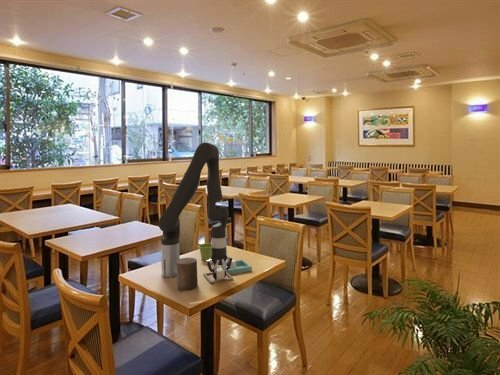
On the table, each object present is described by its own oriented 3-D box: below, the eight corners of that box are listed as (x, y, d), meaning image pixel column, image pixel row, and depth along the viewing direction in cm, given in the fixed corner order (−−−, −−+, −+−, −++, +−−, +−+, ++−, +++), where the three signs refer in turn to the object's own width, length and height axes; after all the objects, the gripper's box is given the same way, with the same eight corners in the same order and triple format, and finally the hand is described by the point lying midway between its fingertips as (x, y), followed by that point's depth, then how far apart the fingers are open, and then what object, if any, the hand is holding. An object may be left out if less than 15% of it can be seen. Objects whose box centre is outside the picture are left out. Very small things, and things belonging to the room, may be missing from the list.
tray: (210, 284, 174) (210, 282, 173) (203, 276, 185) (203, 273, 185) (233, 281, 178) (233, 278, 178) (225, 272, 190) (225, 269, 190)
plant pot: (206, 256, 219) (205, 242, 218) (217, 258, 213) (217, 244, 212) (195, 260, 211) (195, 246, 210) (207, 263, 206) (206, 248, 205)
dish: (229, 275, 186) (228, 270, 185) (221, 267, 198) (221, 262, 197) (251, 271, 191) (251, 266, 190) (242, 264, 203) (242, 259, 202)
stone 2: (229, 271, 190) (229, 262, 190) (226, 268, 194) (226, 260, 193) (236, 270, 192) (235, 261, 191) (233, 267, 196) (233, 259, 195)
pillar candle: (199, 290, 167) (198, 259, 166) (178, 292, 165) (177, 261, 163) (196, 283, 177) (195, 253, 175) (176, 285, 174) (175, 255, 172)
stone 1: (217, 281, 177) (216, 271, 176) (214, 278, 180) (214, 269, 180) (224, 279, 178) (224, 270, 178) (222, 277, 182) (221, 267, 181)
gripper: (207, 249, 171) (208, 283, 173) (234, 245, 176) (235, 278, 178) (203, 245, 178) (204, 278, 180) (229, 242, 183) (230, 273, 185)
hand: (219, 278), depth 179 cm, fingers closed on stone 1, 4 cm apart
